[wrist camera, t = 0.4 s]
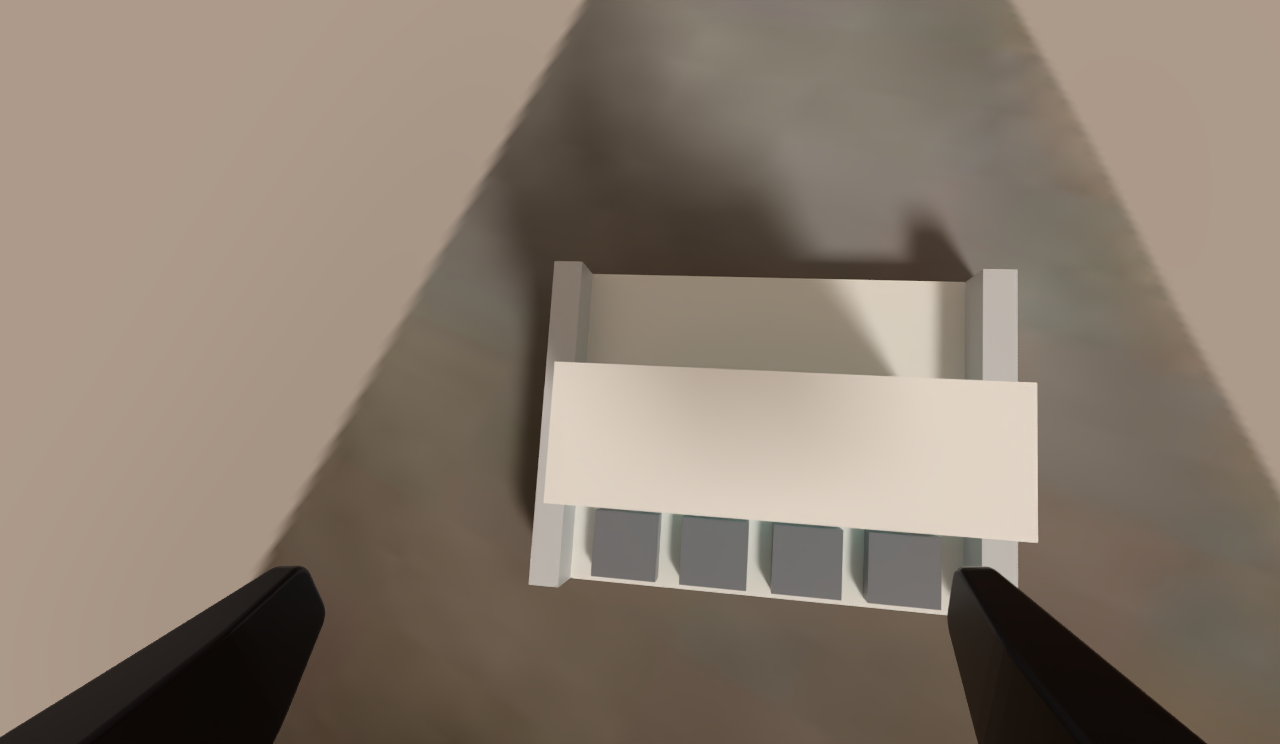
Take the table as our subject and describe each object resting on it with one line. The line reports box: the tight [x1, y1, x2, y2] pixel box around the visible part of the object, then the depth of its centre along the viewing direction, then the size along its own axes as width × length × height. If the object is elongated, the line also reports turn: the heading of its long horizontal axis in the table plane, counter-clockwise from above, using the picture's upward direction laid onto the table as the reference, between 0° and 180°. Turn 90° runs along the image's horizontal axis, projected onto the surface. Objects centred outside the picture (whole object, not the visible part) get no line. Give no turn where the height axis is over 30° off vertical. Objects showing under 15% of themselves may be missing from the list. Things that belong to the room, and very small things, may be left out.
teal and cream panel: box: [544, 361, 1038, 543], centre depth 18 cm, size 3×10×8 cm, turn 87°
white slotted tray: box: [529, 261, 1018, 615], centre depth 22 cm, size 11×15×3 cm
